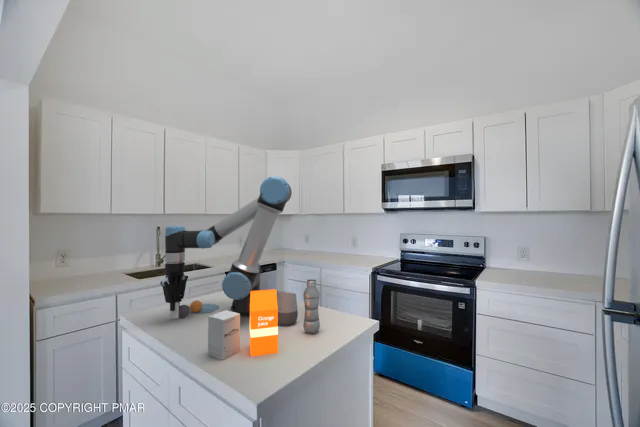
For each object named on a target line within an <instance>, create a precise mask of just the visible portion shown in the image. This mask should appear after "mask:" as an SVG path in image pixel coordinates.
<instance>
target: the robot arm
mask: <svg viewBox="0 0 640 427" xmlns="http://www.w3.org/2000/svg"><path fill="white" fill-rule="evenodd" d="M292 194H293V193H292V188H291V186H290V184H289V183H288V181H287V180H286V179H284V178H283V177H280V176H277V175H276V176H275V175H273V176H269V177H266V178H265V179H264V180H263V181H262V183H261V184H260V187H259V196H258V197H257V198H255V199H254V200H252V201H251V202H249V203H248V204H246V205H244V206H242V207H241V208H239V209H237V210H236V211H235V212H232V213H231V214H230V215H228V216H226V217H225V218H223V219H222V220H219V221H218V222H217V223H215V224H213V226H210V227H209V228H206V229H201V230H186V227H185V226H184V225H171V226H166V228H165V234H164V239H165V240H164V243H165V244H164V246H165V250H164V251H165V252H164V253H165V254H164V262H165V263H164V272H165V273H166V274H165V279H164V280H161V281H160V283H159V284H160V285H161V287H162V291H163V295H164V301H165V303H168V304H169V311H170V318H171V319H178V318H180V317H179V308H180V306H181V305H180V304H181V302H182V301H183V299H184V297H185V292H186V287H187V281H188V279H189V276H188V275H185V273H184V271H185V269H186V263H185V261H186V249H211V248H213V246H214V245H217V244H218V243H219V242H220V241H221V240H222V239H224V238H226V237H227V236H229V235H231V234H233V233H234V232H235V231H237V230H239V229H240V228H242V227H244V226H246V225H248V223H249V222H252V223H251V226H250V228H249V230H248V234H247V236H246V239H245V241H244V244H243V245H242V248H241V251H240V254H239V256H238V259H237V260H235V261H233V262H232V264H231V266H230V269H229V272H228V273H227V274H226V276H225V277H224V278H223V280H222V283H221V289H222V291H223V293H224V295H225V296H226V297H228V298H229V299H231V300H232V303H231V306H230V311H231V312H236V313H239V314H240V317H250V292H251V291H258V290H261V264H260V263H259V262H260V260H261V259H262V258H261V257H262V255H263V253H264V249H265V247H266V245H267V243H268V240H269V238H270V235H271V232H272V230H273V226H274V225H275V222H276V220H277V217H278V215H279V214H282V213H283V212H284V209H285V207H286V204H287V203H288V202H289V201H290V199H291V197H292Z"/></svg>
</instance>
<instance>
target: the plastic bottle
mask: <svg viewBox="0 0 640 427" xmlns="http://www.w3.org/2000/svg"><path fill="white" fill-rule="evenodd" d="M306 286H307V287H306V288H305V289H304V290H303V295H302V296H303V302H304V319H303V324H302V325H303V330H304V332H305V333H307V334H316V333H318V332H319V330H320V327H321V326H320V325H321V323H320V318H319V317H320V316H319V303H320V291H319V289H318V288H317V280H316V279H307V280H306Z"/></svg>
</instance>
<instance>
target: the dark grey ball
mask: <svg viewBox="0 0 640 427" xmlns="http://www.w3.org/2000/svg"><path fill="white" fill-rule="evenodd" d="M189 314H191V313H190V306H189V305H188V304H181V305H180V308H179V317H178V318H183V319H184V318H186V317H187V316H189Z"/></svg>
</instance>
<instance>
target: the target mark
mask: <svg viewBox="0 0 640 427" xmlns="http://www.w3.org/2000/svg"><path fill="white" fill-rule="evenodd" d="M217 310H220V305H218V304H216V303H202V309H201V310H200V311H199V312H197V313H194V312H192V311H191V310H190V313H189V314H195V315H196V314H197V315H199V314H208V313H212V312H215V311H217Z"/></svg>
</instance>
